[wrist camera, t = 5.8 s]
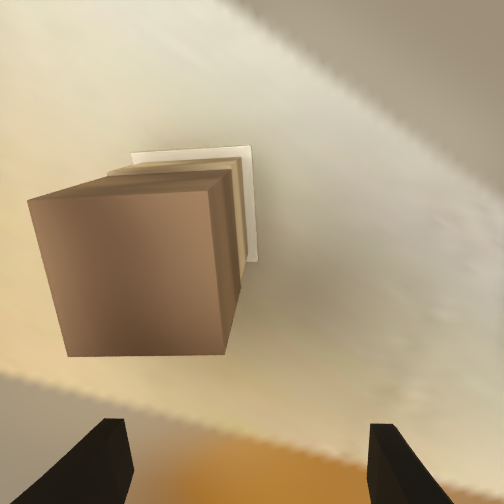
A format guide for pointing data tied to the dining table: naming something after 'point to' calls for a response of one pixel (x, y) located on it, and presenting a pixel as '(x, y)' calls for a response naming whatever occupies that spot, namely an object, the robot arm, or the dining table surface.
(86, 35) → the dining table surface
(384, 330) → the dining table surface
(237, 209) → the maple base
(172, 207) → the walnut block
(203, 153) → the cream tile
